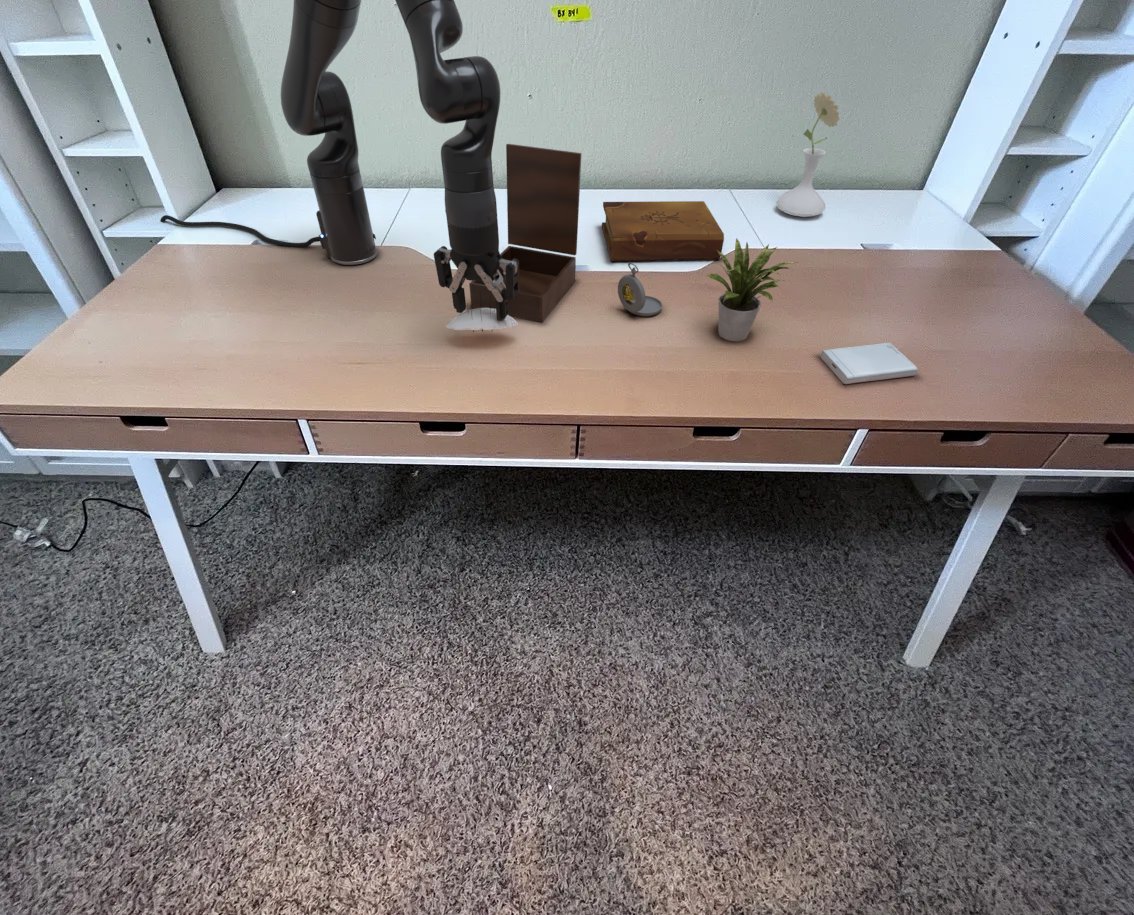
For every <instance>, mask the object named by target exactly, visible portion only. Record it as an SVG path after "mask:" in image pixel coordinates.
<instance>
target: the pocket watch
mask: <svg viewBox="0 0 1134 915" xmlns="http://www.w3.org/2000/svg"><path fill="white" fill-rule="evenodd" d="M630 265H632V266H633V267H631V266H630ZM627 267H628V268H629V270H630V272H631V273H630V274H626V275H624V276H622V277H621V278H620V279H619V280H618V284H617V295H618V298H619V302H620V303H621V305H622V306H623V307H624V308H625V309H626V310H627V311H629V312H630V313H632V314H634V315H635V316H640V317H651V316H655V315H657V314H659V313H660V312H661V311H662V310H663V303H662V301H661V299H658V298H657V297H654V296H651V295H646V291H645V288H644V286H643V284H642V282H641V280H640V279H639V278H638V277H637V276H636V274H637V273H639V268H638V266H637V265H636V264H635V263H632V262H628V264H627Z"/></svg>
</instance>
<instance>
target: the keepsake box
mask: <svg viewBox="0 0 1134 915" xmlns="http://www.w3.org/2000/svg"><path fill="white" fill-rule="evenodd" d="M500 255H501V257H502V259H505V260H509V261H512V260H513V259H517V260H518V261H519V293H518V294H517V295H516V296H515V297H514V298H513V299H512V300H508V306H509V313H508V315H509V316H511V317H512V318H518V319H523V320H528V321H532V322H537V323H540V324H541V323H542V324H543V323H544V322H545V320H546V319H547V317H549V315H550V314H551V313H552V311H554V309H555V308H556V306H557V305H558V304H559V303H560V301H561V300H562V299H563V298H564V296H565V295H566V294H567V292H569V290H570V289H571V287H572V286H573V285H574V283H575V282H576V265H577V262H576V261H577V258H576V256H572V255H566V254H561V253H555V252H549V251H543V250H537V249H532V248H526V247H520V246H514V245H512V246H511V245H508V246H507V247H506V248H505V249H503V251H502V252H501V253H500ZM498 270H499V272H500V273H501V275H502V277H503V282H504V284H505V286H506V275H504V274H503V269H502V268H501V267H499V269H498ZM491 279H492V281H493V280H494V277H492V278H491ZM468 285H469V293H470V300H471V299H472V302H471V301H470V303H471V305H470V306H471V309H472V308H473V309H476V308H480V307H481V304H482V308H492V309H494V308H495V309H496V302H495V301H496V298H495V296H494V295H493V293H492V291H490V290H488V288H487V287H486V285H485V283H480V282H478V281H476V280H472V281H470V282H469V284H468ZM480 293H481V297H480ZM490 302H491V307H490Z"/></svg>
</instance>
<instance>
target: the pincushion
mask: <svg viewBox="0 0 1134 915" xmlns="http://www.w3.org/2000/svg"><path fill="white" fill-rule="evenodd" d="M480 297H481V293H480ZM471 302H472V299H471V298H470V303H471ZM468 303H469V302H466V308H469V304H468ZM490 307H491V302H490ZM507 327H508V328H513V327H518V322H517V321H516V320H515V318H514V317H512V316H509V315H507V316H506V317H505V319H504V320H503V321H497V315H496V309H495V308H494V309H492V308H482V304H481V307H480V308H476V309H473V308H472V307H471V308H470V309H467V310H466V311H463V312H462V313H459V314H458V315H456V316H455V317H454V318H452V319H451V320H450V321H449V322H448V323H446V325H445V328H446V329H451V330H456V331H465V330H469V331H471V330H472V332H473V333H475V331H478V330H481V332H484V330H486V331H491V332H493V330H494V329H495V330H500V329H501V330H504V329H506V328H507Z"/></svg>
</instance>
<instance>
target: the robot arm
mask: <svg viewBox="0 0 1134 915" xmlns="http://www.w3.org/2000/svg"><path fill="white" fill-rule="evenodd" d="M395 3H396V5H397V8H398V11H399V13H400V16H401V19H402V21H403V24H404V26H405V28H406V31H407V33H408V36H409V40H410V44H411V50H412V55H413V58H414V65H415V71H416V79H417V88H418V90H417V91H418V94H419V95H418V96H419V100H420V104H421V106H422V109H423V110H424V112H425V113H426V114H427V116H428V117H429V118H431V119H432V120H433V121H434V122H436V123H438V124H442V125H446V124H447V125H448V124H455V123H459V122H464V121H465V122H464V125H463V128H462V130H461V131H460V132H459V133H457V134H456V135H454V136H452V137H450V138H448V139H447V140H445V141H444V142H443V143H442V145H441V147H440V161H441V170H442V178H443V185H444V186H443V187H444V209H445V210H444V211H445V217H446V226H447V234H448V241H449V242H448V243H449V246H450V249H449V248H448V247H446V245H442V246H441V247H439V248H437V250H436V251H435V252H433V259H434V264H435V269H436V276H437V281H438V285H439V286H440V287H441V288H446V289H449V291H450V292H451V298H452V306H453V308H454V310H455V311H456V313H457V314H462V313H464V312H465V310H466V309H467V300H466V293H465V288H464V287H463V285H464V284H465V281H470V282H471V281H472V280H476V281H478V282H480V283H485V285H486V287H487V288H488V290H490V291H492V293H493V295H494V296H495V298H496V301H495V302H496V315H497V321H503V320H504V319H505V317H506V316H507V315H508V313H509V306H508V300H512V299H513V298H514V297H515V296H516V295H517V294H518V293H519V261H518V260H517V259H513V260H512V261H509V260H505V259H502V257H501V255H500V254H501V253H500V249H499V248H500V235H499V234H500V233H499V220H498V207H497V206H498V204H497V197H496V192H495V186H494V173H493V161H492V152H493V147H494V140H495V134H496V129H497V122H498V119H499V112H500V106H501V95H502V94H501V93H502V92H501V84H500V80H499V76H498V73H497V71H496V69H495V67H494V66H493V64H492V63H491V62H490V61H489V60H488V59H487V58H485V57H483V56H479V55H475V56H467V57H466V56H465V57H458V58H457V57H456V58H449V59H443V57H442V53H444V52H446V51H448V50H450V49H451V48H453V47H455V45H457V43H458V42H459V41H460V40H461V38H462V36H463V33H464V32H463V31H464V27H463V26H464V25H463V21H462V18H461V15H460V12H459V9H458V7H457V5H456V1H455V0H395ZM361 4H362V0H293V9H292V20H291V30H290V37H289V45H288V50H287V55H286V59H285V65H284V69H283V74H282V78H281V84H280V105H281V109H282V114H283V117H284V119H285V121H286V123H287V125H288V126H289V128H290V129H291V131H293V132H294V133H296V134H297V135H299V136H304V137H311V136H312V137H313V136H318V135H323V134H324V136H323V138H322V140H321V142H320V143H319V144H318V145H317V146H316V147H315V148H314V149H313V150H312V151H310V152H309V154H308V155H307V157H306V164H307V168H308V172H309V176H310V179H311V184H312V187H313V188H312V189H313V192H314V195H315V199H316V202H317V207H318V209H319V210H317V211H316V212H315V214H316V219H317V223H318V226H319V230H320V234H319V235H318V236H315V237H311V238H309V239H308V240H307V241H303V242H289V241H283V240H278V239H273V238H270V237H268V236H265V235H264V234H262V233H261V232H260V231H258V230H257V229H255V228H253V227H249V226H246V225H243V224H239V223H235V222H234V223H232V222H225V221H185V220H184V221H183V220H180V219H178V218H176V217H174V216H171V215H169V214H165V215H163V216H162V217H161V218H160V220H159V222H160V223H165V222H166V220H168V221H171V222H173V223H175V224H177V225H180V226H184V227H226V228H227V227H228V228H233V229H239V230H243V231H246V232H249V233H251V234H253V235H255V236H257V237H258V238H259V239H261V240H262V241H264V242H267V243H269V244H272V245H273V244H274V245H277V246H282V247H289V248H306V247H307V248H308V247H310V246H311V245H312V244H313V243H316V242H319V243H320V246H321V250H325V253H326V257H327V259H330V260H332V262H333V263H335V264H338V265H343V266H356V265H357V266H358V265H362V264H365V263H368V262H371V261H372V260H374V259H375V258H376V257H377V256H378V248H377V247H376V242H375V240H377V237H376V234H374V232H373V227H372V222H371V217H370V212H369V207H368V203H367V198H366V194H365V193H366V192H365V189H364V184H363V178H362V175H361V174H362V173H361V170H360V165H359V155H360V154H359V144H358V139H357V133H356V127H355V119H354V113H353V112H354V111H353V106H352V103H351V102H352V101H351V98H350V95H349V92H348V90H347V88H346V85H345V84H344V81H343V80H342V79H341V77H340V76H338V74H336V73H335V72H332V71H328V68H329V66H330V65H331V64H332V63H333V62H334V60H335V59H336V58H338V55H339V54H340V53H341V52H342V50H343V49H344V48H345V46H347V44H348V42H349V41H350V39H351V38H352V36H353V34H354V32H355V30H356V27H357V25H358V20H359V15H360V9H361ZM451 262H452V263H453V265H454V266H455V267H456V268H457V269H456V270H455V271H456V272H455V273H454V276H453V273H452V267H451ZM499 267H501V268H502V269H503V274H504V275H506V286H505V284H504V282H503V277H502V275H501V273H500V272H499V270H498V269H499ZM492 277H494V280H493V281H492V279H491V278H492Z"/></svg>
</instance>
